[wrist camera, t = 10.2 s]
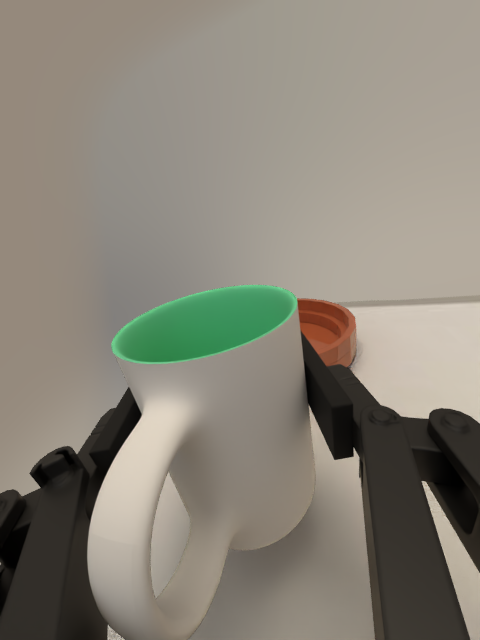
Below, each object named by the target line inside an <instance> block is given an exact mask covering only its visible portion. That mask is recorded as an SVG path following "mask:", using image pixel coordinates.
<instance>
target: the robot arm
mask: <svg viewBox="0 0 480 640" xmlns="http://www.w3.org/2000/svg"><path fill="white" fill-rule="evenodd" d="M300 331H301V330H300ZM301 341H302V350H303V359H304V369H305V378H306V388H307V397H308V404H309V406H310V408H311V410H312V412H313V414H314V417H315V419H316V421H317V423H318V425H319V427H320V430H321V432H322V434H323V436H324V438H325V440H326V443H327V445H328V447H329V449H330V451H331V453H332V456H333V458H334V460H337V459H343V458H348V457H354V453H353V447H354V448H355V450H356V452H357V454H358V455H359V477H360V478H361V487H362V498H363V510H364V521H365V532H366V543H367V554H368V565H369V576H370V587H371V599H372V610H373V621H374V632H375V640H470V637H469V634H468V631H467V628H466V624H465V621H464V618H463V615H462V611H461V608H460V605H459V602H458V598H457V595H456V592H455V589H454V585H453V582H452V579H451V576H450V572H449V569H448V566H447V563H446V559H445V556H444V553H443V550H442V546H441V543H440V540H439V537H438V533H437V530H436V527H435V524H434V520H433V517H432V514H431V511H430V507H429V504H428V501H427V498H426V494H425V491H424V488H423V485H422V481H426V482H427V484H428V486H429V487H430V489H431V491H432V493H433V494H434V496H435V498H436V499H437V501H438V503H439V504H440V506H441V508H442V510H443V511H444V513H445V515H446V516H447V518H448V520H449V521H450V523H451V525H452V527H453V528H454V530H455V532H456V533H457V535H458V537H459V538H460V540H461V542H462V544H463V545H464V547H465V549H466V550H467V552H468V554H469V555H470V557H471V559H472V561H473V562H474V564H475V566H476V567H477V569H478V571H479V572H480V424H479V423H478V422H477V421H476V420H474V419H473V418H472V417H470V416H468V415H466V414H464V413H462V412H459V411H456V410H452V409H443V408H441V409H436V410H433V411H432V412H431V413H430V414H429V419H420V418H408V417H402V416H400V415H399V414H397V413H396V412H395V411H394V410H392V409H390V408H388V407H385V406H381V405H380V404H379V403H378V402H377V401H376V399H375V398H374V397H373V396H372V395H371V394H370V392H369V391H368V390H367V389H366V388H365V387H364V385H363V384H362V383H360V381H359V380H358V379H357V377H355V375H354V374H353V373H352V372H351V370H350V369H348V368H347V367H345V366H343V365H341V364H337V365H332V366H326V365H325V363H324V362H323V360H322V359H321V358H320V356H319V355H318V353H317V352H316V351H315V349H314V348H313V347H312V345H311V344H310V342H309V341H308V340H307V338H306V337H305V335H304V334H303V333H302V331H301ZM141 417H142V413H141V411H140V409H139V407H138V405H137V403H136V400H135V398H134V396H133V394H132V392H131V390H130V388H129V387H128V389H127V391H126V392H125V394H124V396H123V397H122V399H121V401H120V402H119V404H118V405H117V407H116V408H113V409H110V410H109V411H108V412H107V413H106V414H105V415H104V416H102V417H101V419H100V420H99V422H98V424H97V425H96V428H94V430H93V431H92V433H91V436H89V437H88V439H87V440H86V442H85V444H84V445H83V446H82V448H81V449H80V451H79V453H78V454H76V453H75V451H74V450H73V449H72V448H71V447H69V446H66V447H61V448H58V449H55V450H54V451H52V452H50V453H48V454H47V455H46V456H44V457H43V458H42V459H40V461H39V462H38V463H37V464H36V465H35V466H34V467H33V468H32V470H31V472H30V475H31V476H32V477H33V478H34V480H35V481H36V482H37V483H38V485H39V486H40V487H41V488H40V489H38V490H35V491H33V492H31V493H29V494H27V495H25V496H21V495H20V494H19V492H17V491H16V490H7V491H5V492H3V493H1V494H0V563H1V565H0V640H107V631H108V623H107V622H106V621H105V619H104V618H103V616H102V614H101V613H100V611H99V609H98V607H97V604H96V602H95V599H94V596H93V593H92V589H91V585H90V580H89V574H88V562H87V549H88V535H89V527H90V522H91V517H92V513H93V509H94V506H95V502H96V499H97V497H98V494H99V491H100V488H101V486H102V483H103V481H104V479H105V476H106V474H107V472H108V470H109V468H110V466H111V464H112V462H113V460H114V459H115V457H116V455H117V454H118V452H119V450H120V449H121V447H122V445H123V444H124V442H125V441H126V439H127V438H128V436H129V435H130V434H131V432H132V431H133V429H134V428H135V426H136V425H137V423H138V422H139V420H140V418H141Z"/></svg>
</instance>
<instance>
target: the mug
mask: <svg viewBox="0 0 480 640" xmlns="http://www.w3.org/2000/svg"><path fill="white" fill-rule="evenodd" d="M111 346H112V351H113V353H114V355H115V358H116V360H117V362H118V364H119V366H120V368H121V370H122V373H123V375H124V377H125V379H126V381H127V383H128V385H129V388H130V390H131V392H132V394H133V396H134V398H135V400H136V403H137V405H138V407H139V409H140V411H141V413H142V417H141V418H140V420H139V422H138V423H137V425H136V426H135V428H134V429H133V431H132V432H131V434H130V435H129V436H128V438H127V439H126V441H125V442H124V444H123V445H122V447H121V449H120V450H119V452H118V454H117V455H116V457H115V459H114V460H113V462H112V464H111V466H110V468H109V470H108V472H107V474H106V476H105V479H104V481H103V483H102V486H101V488H100V491H99V494H98V497H97V499H96V502H95V506H94V509H93V513H92V517H91V522H90V527H89V535H88V549H87V562H88V574H89V580H90V585H91V589H92V593H93V596H94V599H95V602H96V604H97V607H98V609H99V611H100V613H101V614H102V616H103V618H104V619H105V621H106V622H107V623H108V624H109V626H110V627H111V628H112V629H113V630H114V631H115V632H116V633H118V634H119V635H120V636H122V637H123V638H124V639H126V640H187V639H188V638H189V637H190V636H191V635H192V634H193V633H194V632H195V631H196V629H197V628H198V627H199V625H200V624H201V622H202V621H203V619H204V617H205V615H206V613H207V611H208V609H209V607H210V605H211V603H212V600H213V598H214V595H215V593H216V590H217V587H218V585H219V582H220V579H221V575H222V572H223V569H224V565H225V561H226V557H227V553H228V549H233V550H254V549H259V548H262V547H266V546H268V545H271V544H273V543H275V542H277V541H278V540H280V539H282V538H283V537H285V536H286V535H287V534H288V533H290V532H291V531H292V530H293V529H294V528H295V527H296V526H297V524H298V523H299V522H300V521H301V519H302V518H303V516H304V515H305V513H306V511H307V510H308V507H309V505H310V503H311V500H312V497H313V493H314V489H315V478H316V475H315V464H314V454H313V445H312V435H311V426H310V416H309V407H308V397H307V388H306V378H305V369H304V359H303V350H302V341H301V331H300V322H299V312H298V303H297V298H296V297H295V295H294V294H293V293H291V292H290V291H288V290H286V289H283V288H280V287H275V286H267V285H242V286H233V287H225V288H219V289H214V290H209V291H204V292H200V293H197V294H193V295H189V296H186V297H183V298H180V299H177V300H174V301H171V302H169V303H166V304H163V305H161V306H159V307H157V308H154V309H152V310H150V311H148V312H146V313H144V314H142V315H140V316H139V317H137V318H135V319H134V320H132V321H131V322H129V323H128V324H127V325H125V326H124V327H123V328H122V329H121V330H120V331H119V332H118V333H117V334H116V336H115V337H114V339H113V341H112V345H111ZM168 471H169V473H170V476H171V478H172V480H173V482H174V484H175V486H176V488H177V491H178V493H179V495H180V497H181V499H182V501H183V503H184V506H185V508H186V510H187V512H188V514H189V516H190V533H189V538H188V541H187V545H186V548H185V551H184V553H183V556H182V558H181V560H180V563H179V565H178V567H177V569H176V571H175V573H174V574H173V576H172V578H171V580H170V581H169V583H168V584H167V586H166V587H165V589H164V590H163V591H162V593H161V594H160V595H159V596H158V597H157V598H156V599H155V596H154V592H153V587H152V579H151V567H150V551H151V538H152V529H153V524H154V518H155V513H156V509H157V504H158V501H159V497H160V494H161V490H162V487H163V484H164V481H165V479H166V476H167V473H168Z"/></svg>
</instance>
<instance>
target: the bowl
mask: <svg viewBox="0 0 480 640" xmlns="http://www.w3.org/2000/svg"><path fill="white" fill-rule="evenodd" d="M297 303H298V312H299V322H300V330H301V331H302V333H303V334H304V335H305V337H306V338H307V340H308V341H309V342H310V344H311V345H312V347H313V348H314V349H315V351H316V352H317V353H318V355H319V356H320V358H321V359H322V360H323V362H324V363H325V365H326V366H332V365H337V364H341V365H343V366H345V367H348V366H349V365H350V364H351V362H352V360H353V358H354V356H355V354H356V322H355V317H354V316H353V314H352V313H351V312H350V311H349V310H348V309H346V308H344V307H342V306H341V305H339V304H335V303H332V302H328V301H323V300H316V299H297Z"/></svg>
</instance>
